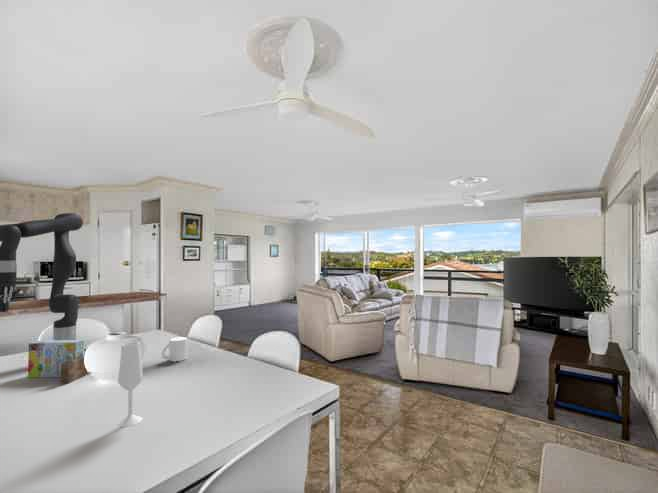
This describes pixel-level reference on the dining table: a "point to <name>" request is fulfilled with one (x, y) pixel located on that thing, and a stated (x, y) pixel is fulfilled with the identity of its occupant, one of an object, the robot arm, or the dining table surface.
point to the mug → (176, 349)
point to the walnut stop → (73, 369)
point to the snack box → (51, 356)
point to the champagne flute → (130, 378)
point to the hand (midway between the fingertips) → (4, 311)
